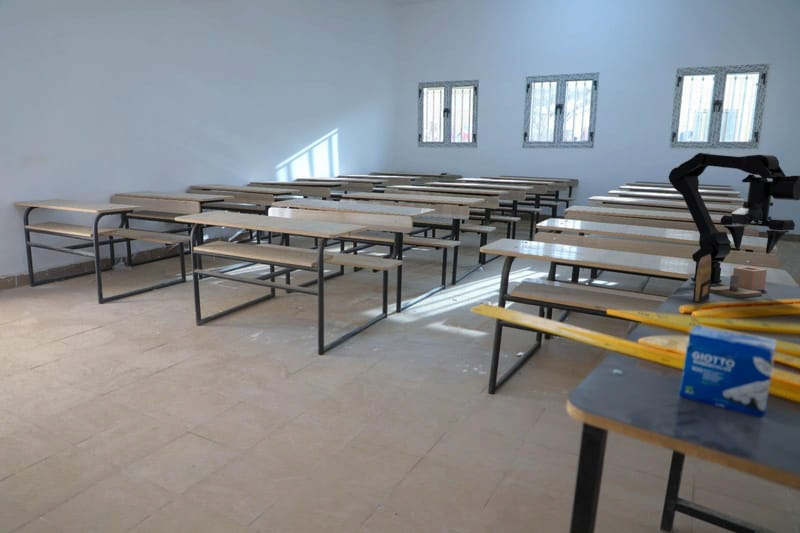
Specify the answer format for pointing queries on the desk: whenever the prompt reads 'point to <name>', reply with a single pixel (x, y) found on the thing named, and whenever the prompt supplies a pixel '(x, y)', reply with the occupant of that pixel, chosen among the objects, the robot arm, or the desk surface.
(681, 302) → the desk surface
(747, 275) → the collar
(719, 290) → the pin board
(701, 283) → the ammunition clip
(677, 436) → the desk surface
